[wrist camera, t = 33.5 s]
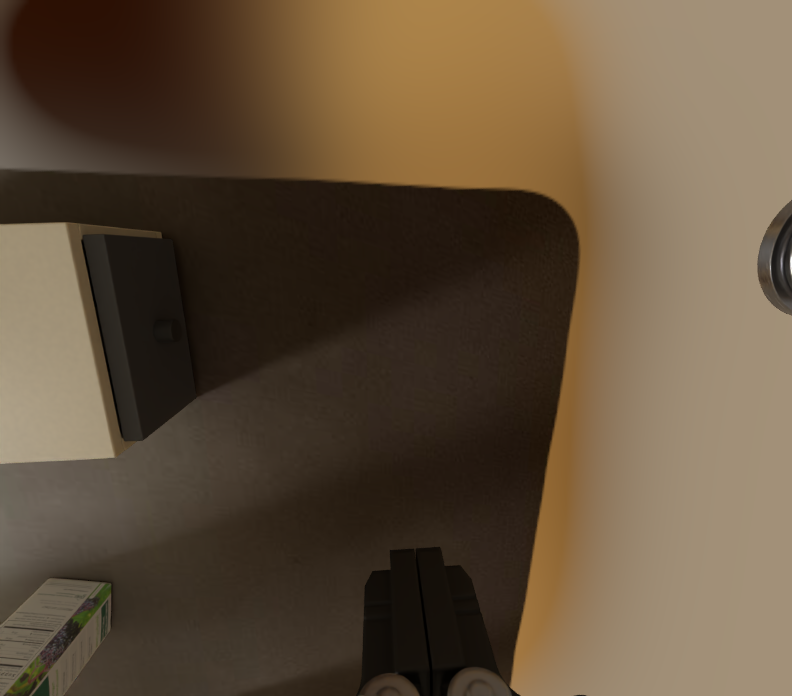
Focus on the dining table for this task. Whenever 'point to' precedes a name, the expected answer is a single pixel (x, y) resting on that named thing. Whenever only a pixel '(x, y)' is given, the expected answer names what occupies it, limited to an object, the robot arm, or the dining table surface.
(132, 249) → the two-tone hollow box
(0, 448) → the cream drawer box
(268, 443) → the dining table surface
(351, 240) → the dining table surface
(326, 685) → the dining table surface
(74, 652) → the syrup box
